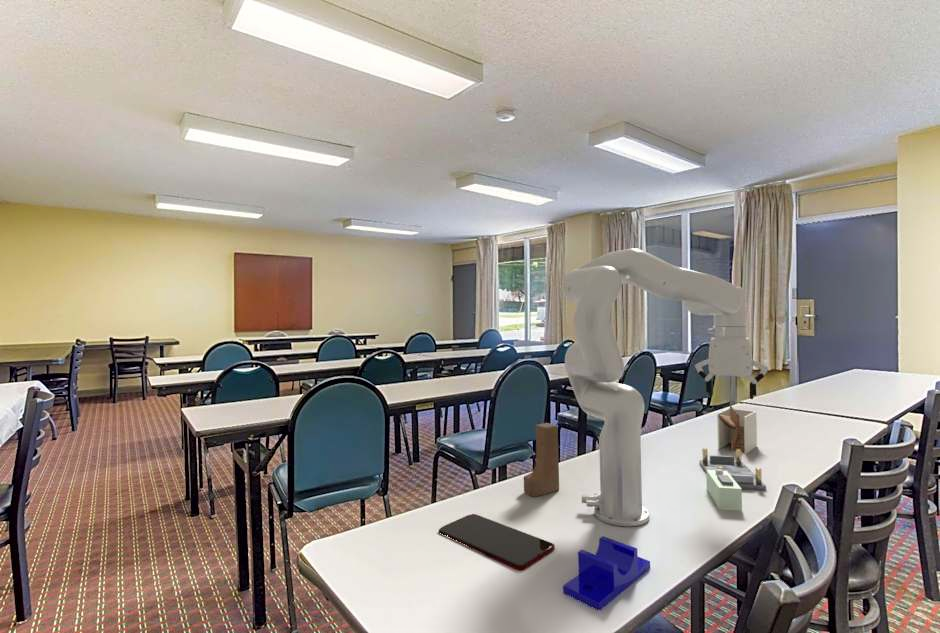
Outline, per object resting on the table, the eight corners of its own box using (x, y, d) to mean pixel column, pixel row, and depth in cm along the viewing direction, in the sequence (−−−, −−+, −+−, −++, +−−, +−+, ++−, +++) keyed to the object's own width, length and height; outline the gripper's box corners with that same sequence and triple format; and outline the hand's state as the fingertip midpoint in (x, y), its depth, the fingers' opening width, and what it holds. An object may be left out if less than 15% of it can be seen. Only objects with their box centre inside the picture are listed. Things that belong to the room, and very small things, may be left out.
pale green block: (719, 509, 117) (718, 483, 117) (706, 489, 130) (706, 466, 130) (742, 511, 116) (741, 484, 116) (727, 491, 128) (726, 467, 128)
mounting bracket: (616, 557, 97) (615, 527, 97) (650, 570, 92) (649, 539, 92) (563, 595, 85) (562, 561, 85) (599, 613, 80) (598, 577, 79)
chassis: (716, 487, 130) (716, 468, 130) (699, 463, 150) (699, 447, 150) (766, 490, 128) (765, 470, 128) (741, 465, 147) (741, 448, 147)
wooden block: (533, 497, 127) (531, 430, 127) (523, 492, 131) (521, 426, 131) (559, 490, 132) (558, 425, 131) (549, 485, 135) (547, 422, 135)
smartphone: (472, 511, 118) (557, 543, 100) (473, 517, 118) (557, 550, 100) (434, 528, 109) (520, 566, 92) (435, 535, 109) (520, 574, 92)
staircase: (717, 449, 165) (716, 401, 165) (729, 443, 172) (728, 397, 172) (745, 455, 159) (744, 405, 158) (757, 447, 166) (756, 400, 166)
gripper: (692, 333, 130) (693, 396, 130) (767, 334, 120) (768, 402, 121) (696, 332, 136) (697, 392, 136) (768, 332, 127) (769, 397, 127)
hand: (730, 396), depth 128 cm, fingers open, 9 cm apart
